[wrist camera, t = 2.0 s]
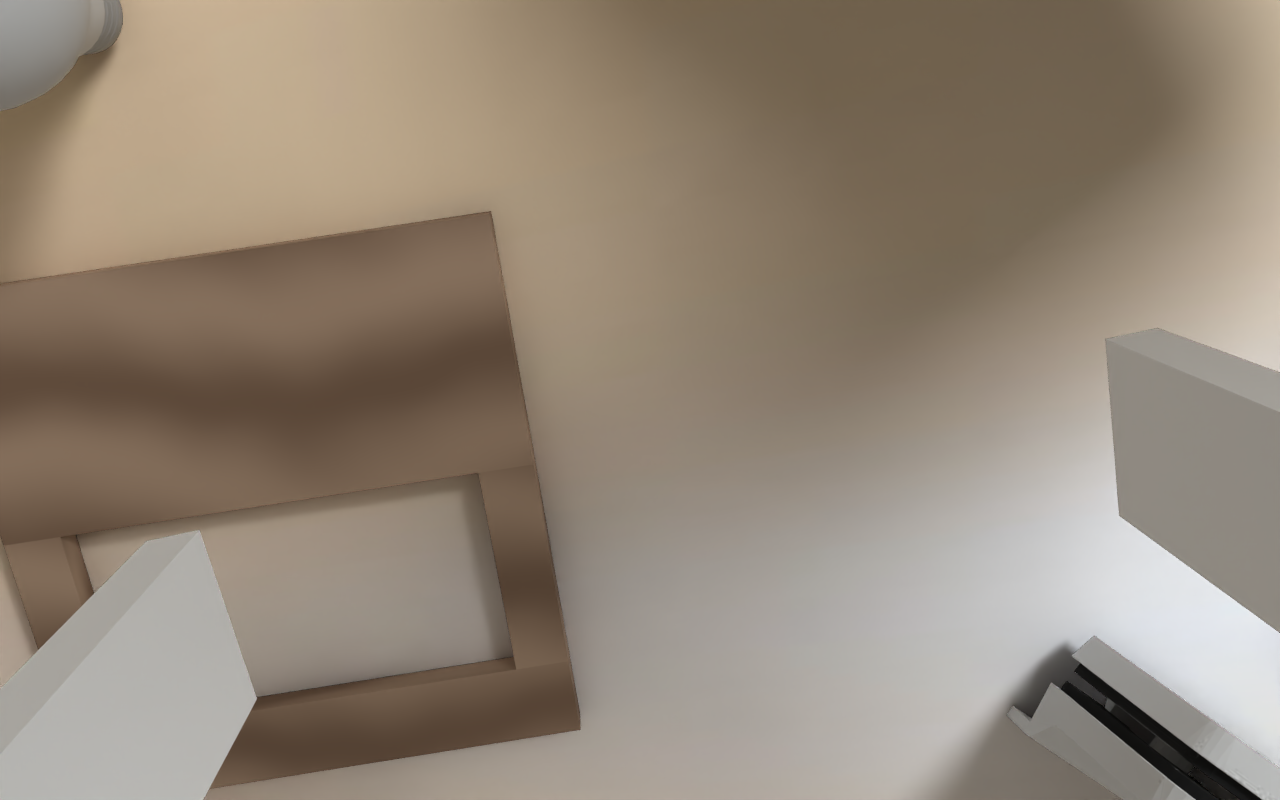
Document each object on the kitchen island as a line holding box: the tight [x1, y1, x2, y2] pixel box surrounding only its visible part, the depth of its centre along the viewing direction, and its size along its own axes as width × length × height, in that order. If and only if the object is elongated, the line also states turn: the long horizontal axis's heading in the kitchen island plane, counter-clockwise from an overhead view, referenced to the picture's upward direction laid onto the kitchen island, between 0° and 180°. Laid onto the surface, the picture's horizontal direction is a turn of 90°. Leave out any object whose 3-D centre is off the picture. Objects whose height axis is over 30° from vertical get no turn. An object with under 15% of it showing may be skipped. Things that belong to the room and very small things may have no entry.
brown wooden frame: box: [0, 211, 580, 789], centre depth 38 cm, size 20×19×1 cm
